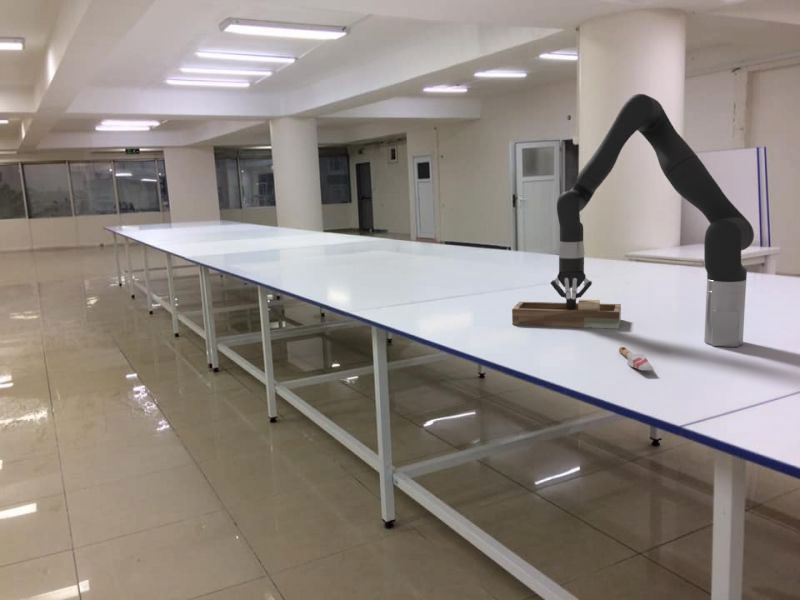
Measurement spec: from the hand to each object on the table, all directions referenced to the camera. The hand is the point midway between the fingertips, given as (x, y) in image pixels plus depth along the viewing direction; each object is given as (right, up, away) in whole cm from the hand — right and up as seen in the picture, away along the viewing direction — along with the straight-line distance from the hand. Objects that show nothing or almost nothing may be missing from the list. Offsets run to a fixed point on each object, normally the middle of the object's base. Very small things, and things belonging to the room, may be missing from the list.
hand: (571, 310), depth 199 cm
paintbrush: (+4, -13, -44) cm, 46 cm away
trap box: (-1, -4, +2) cm, 4 cm away
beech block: (+5, -1, -1) cm, 5 cm away
